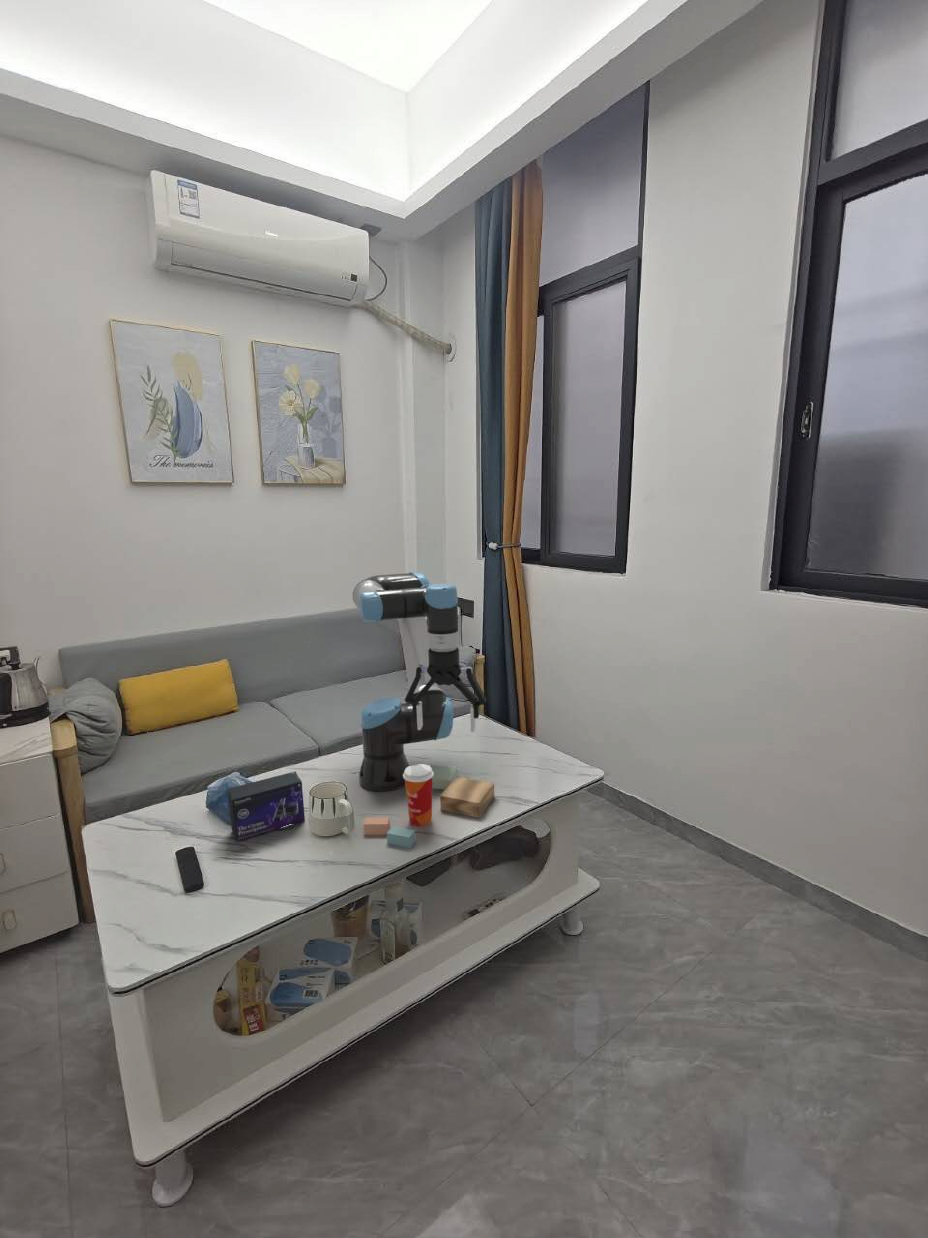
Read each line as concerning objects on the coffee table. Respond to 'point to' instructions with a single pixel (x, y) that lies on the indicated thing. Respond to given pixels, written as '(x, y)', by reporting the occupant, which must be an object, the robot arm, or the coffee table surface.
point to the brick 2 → (401, 837)
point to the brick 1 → (376, 826)
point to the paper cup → (419, 793)
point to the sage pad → (443, 776)
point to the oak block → (467, 796)
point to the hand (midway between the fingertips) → (446, 729)
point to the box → (266, 805)
